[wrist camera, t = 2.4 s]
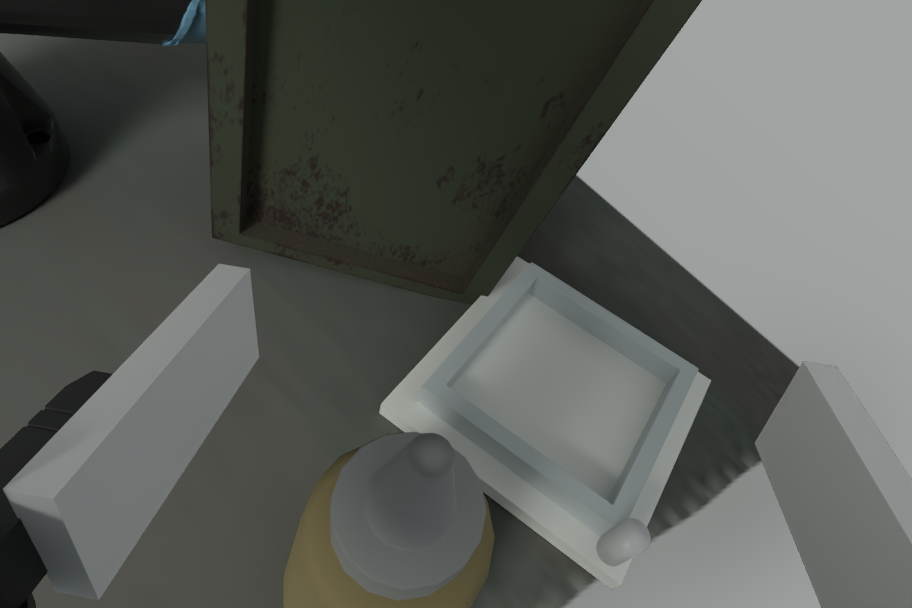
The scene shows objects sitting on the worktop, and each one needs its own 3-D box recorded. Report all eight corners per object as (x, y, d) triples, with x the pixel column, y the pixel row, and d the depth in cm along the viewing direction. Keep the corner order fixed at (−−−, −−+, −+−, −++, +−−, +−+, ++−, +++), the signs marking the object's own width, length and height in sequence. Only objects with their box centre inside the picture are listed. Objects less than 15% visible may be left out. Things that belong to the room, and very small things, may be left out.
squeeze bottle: (421, 496, 32) (510, 299, 18) (475, 657, 27) (648, 566, 13) (269, 543, 29) (231, 351, 15) (304, 732, 24) (298, 717, 10)
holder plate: (379, 413, 34) (386, 377, 31) (512, 266, 43) (529, 228, 40) (612, 589, 31) (648, 571, 27) (702, 388, 40) (736, 357, 37)
